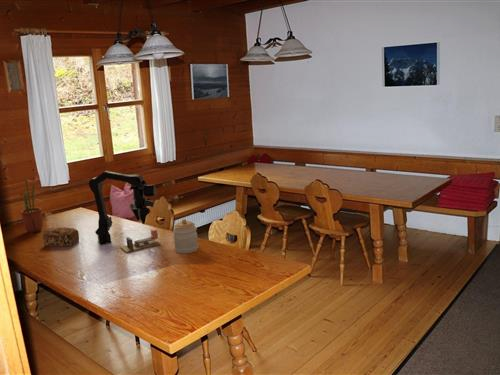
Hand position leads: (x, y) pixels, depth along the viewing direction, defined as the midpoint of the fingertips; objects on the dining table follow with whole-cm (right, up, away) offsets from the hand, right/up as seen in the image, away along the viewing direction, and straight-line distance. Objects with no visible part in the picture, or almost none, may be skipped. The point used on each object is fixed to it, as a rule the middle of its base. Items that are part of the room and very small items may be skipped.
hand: (141, 222), depth 285 cm
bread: (-50, -14, +9) cm, 53 cm away
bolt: (+4, -11, -6) cm, 13 cm away
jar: (+30, -14, -18) cm, 37 cm away
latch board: (+2, -14, -8) cm, 16 cm away
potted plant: (-79, -9, +39) cm, 88 cm away
